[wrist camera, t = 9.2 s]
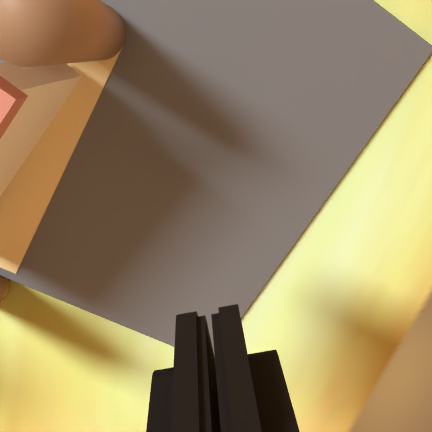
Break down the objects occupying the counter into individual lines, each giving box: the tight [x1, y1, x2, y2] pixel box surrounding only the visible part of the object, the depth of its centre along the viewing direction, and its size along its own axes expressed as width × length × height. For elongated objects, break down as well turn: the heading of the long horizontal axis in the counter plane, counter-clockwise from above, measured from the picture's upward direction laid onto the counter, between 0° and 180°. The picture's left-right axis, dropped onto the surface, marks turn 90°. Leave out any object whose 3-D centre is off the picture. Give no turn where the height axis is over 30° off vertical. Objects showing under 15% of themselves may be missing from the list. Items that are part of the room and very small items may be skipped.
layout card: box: [0, 0, 432, 355], centre depth 17 cm, size 20×26×1 cm
